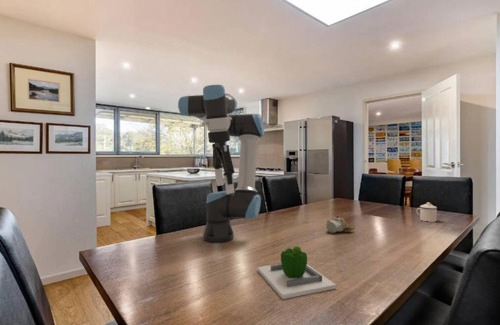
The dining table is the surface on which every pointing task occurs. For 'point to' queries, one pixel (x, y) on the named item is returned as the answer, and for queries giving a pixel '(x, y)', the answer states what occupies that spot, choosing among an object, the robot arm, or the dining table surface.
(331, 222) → the garlic bulb
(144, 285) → the dining table surface
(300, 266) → the bell pepper
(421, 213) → the teacup with lid
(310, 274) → the board
